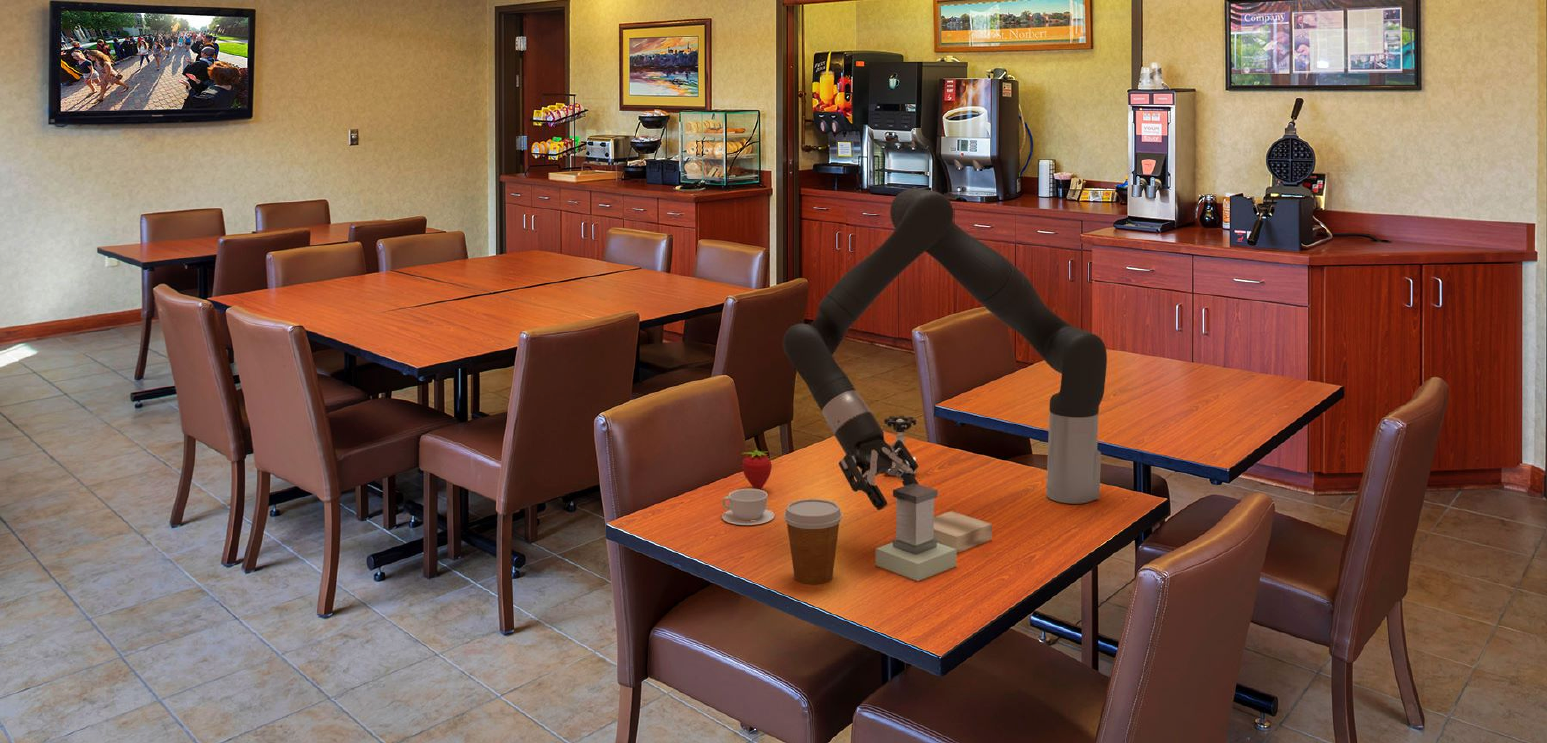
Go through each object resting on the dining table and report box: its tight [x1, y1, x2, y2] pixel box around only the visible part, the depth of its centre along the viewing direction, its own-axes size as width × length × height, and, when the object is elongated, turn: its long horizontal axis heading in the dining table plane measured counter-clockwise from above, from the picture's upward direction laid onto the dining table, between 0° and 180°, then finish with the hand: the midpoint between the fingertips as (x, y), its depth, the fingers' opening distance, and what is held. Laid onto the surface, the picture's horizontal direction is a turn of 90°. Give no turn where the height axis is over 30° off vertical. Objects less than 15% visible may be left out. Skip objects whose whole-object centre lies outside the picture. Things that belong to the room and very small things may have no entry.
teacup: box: [721, 488, 776, 526], centre depth 224 cm, size 10×10×5 cm
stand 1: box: [875, 541, 958, 582], centre depth 200 cm, size 10×10×3 cm
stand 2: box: [933, 510, 993, 554], centre depth 211 cm, size 10×10×3 cm
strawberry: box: [741, 448, 773, 490], centre depth 239 cm, size 6×8×10 cm
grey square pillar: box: [892, 483, 939, 555], centre depth 199 cm, size 5×5×10 cm
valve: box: [883, 414, 917, 476], centre depth 248 cm, size 7×7×12 cm
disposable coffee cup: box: [783, 498, 843, 585], centre depth 195 cm, size 10×10×12 cm
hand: (900, 501), depth 200 cm, fingers open, 8 cm apart
